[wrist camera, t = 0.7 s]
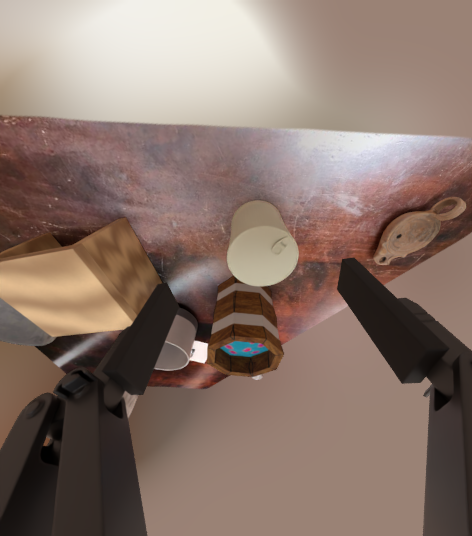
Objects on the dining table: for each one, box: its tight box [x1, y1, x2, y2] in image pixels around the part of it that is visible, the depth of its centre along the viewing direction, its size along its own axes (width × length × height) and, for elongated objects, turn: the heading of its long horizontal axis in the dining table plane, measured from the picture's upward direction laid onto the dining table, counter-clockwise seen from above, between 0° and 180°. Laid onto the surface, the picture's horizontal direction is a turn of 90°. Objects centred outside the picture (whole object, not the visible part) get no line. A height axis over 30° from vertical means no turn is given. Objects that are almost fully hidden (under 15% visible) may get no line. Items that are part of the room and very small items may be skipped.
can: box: [227, 200, 299, 286], centre depth 27 cm, size 9×9×12 cm
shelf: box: [0, 217, 162, 337], centre depth 32 cm, size 16×18×12 cm
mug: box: [207, 276, 284, 380], centre depth 37 cm, size 20×14×15 cm
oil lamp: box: [373, 197, 466, 265], centre depth 29 cm, size 13×8×5 cm, turn 150°
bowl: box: [0, 298, 57, 346], centre depth 41 cm, size 21×21×8 cm
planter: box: [154, 308, 198, 370], centre depth 43 cm, size 13×13×10 cm
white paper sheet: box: [189, 340, 208, 363], centre depth 55 cm, size 12×12×2 cm
